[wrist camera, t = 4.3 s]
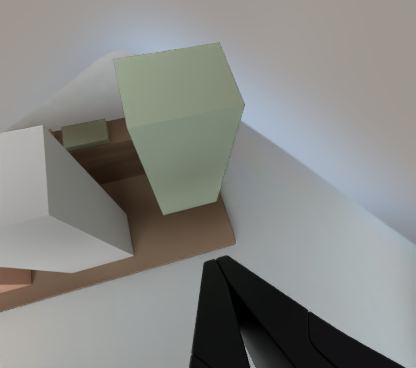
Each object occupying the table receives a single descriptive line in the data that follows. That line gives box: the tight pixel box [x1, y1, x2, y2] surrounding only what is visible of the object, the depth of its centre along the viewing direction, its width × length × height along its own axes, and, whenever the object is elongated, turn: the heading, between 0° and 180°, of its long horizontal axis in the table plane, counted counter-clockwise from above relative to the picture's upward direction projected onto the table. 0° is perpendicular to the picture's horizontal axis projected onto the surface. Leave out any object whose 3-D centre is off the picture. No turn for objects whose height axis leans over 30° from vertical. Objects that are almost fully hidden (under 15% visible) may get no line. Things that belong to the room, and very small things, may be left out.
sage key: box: [113, 43, 245, 215], centre depth 14 cm, size 3×4×11 cm
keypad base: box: [0, 118, 236, 312], centre depth 16 cm, size 8×18×6 cm, turn 106°
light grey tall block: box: [0, 125, 134, 273], centre depth 12 cm, size 3×4×11 cm
